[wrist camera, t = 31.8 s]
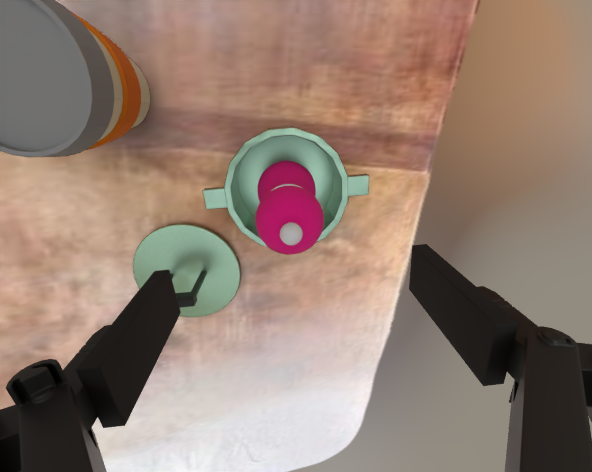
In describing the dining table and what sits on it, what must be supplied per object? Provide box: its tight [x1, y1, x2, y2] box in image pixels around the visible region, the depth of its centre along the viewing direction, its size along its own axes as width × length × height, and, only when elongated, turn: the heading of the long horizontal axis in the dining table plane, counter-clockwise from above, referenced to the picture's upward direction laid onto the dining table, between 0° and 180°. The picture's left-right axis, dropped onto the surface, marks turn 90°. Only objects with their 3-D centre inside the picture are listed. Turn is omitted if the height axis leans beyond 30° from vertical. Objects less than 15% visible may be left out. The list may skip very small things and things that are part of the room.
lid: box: [133, 224, 240, 317], centre depth 41 cm, size 16×16×9 cm
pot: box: [203, 126, 369, 247], centre depth 38 cm, size 15×20×6 cm
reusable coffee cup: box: [0, 0, 150, 157], centre depth 29 cm, size 13×12×15 cm
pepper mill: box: [255, 161, 324, 254], centre depth 31 cm, size 7×7×20 cm
